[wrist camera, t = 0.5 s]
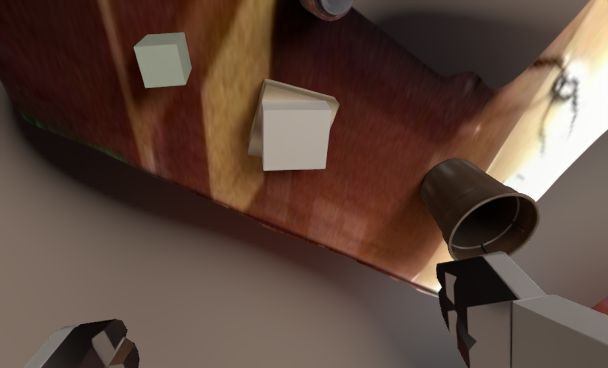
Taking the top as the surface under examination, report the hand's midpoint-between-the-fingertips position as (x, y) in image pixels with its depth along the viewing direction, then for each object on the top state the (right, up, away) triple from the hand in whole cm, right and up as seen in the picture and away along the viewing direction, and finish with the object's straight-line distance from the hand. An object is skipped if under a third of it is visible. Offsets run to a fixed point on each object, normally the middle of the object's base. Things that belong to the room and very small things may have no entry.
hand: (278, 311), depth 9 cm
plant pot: (+30, +4, +64) cm, 71 cm away
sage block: (-19, +22, +41) cm, 50 cm away
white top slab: (-1, +12, +47) cm, 49 cm away
